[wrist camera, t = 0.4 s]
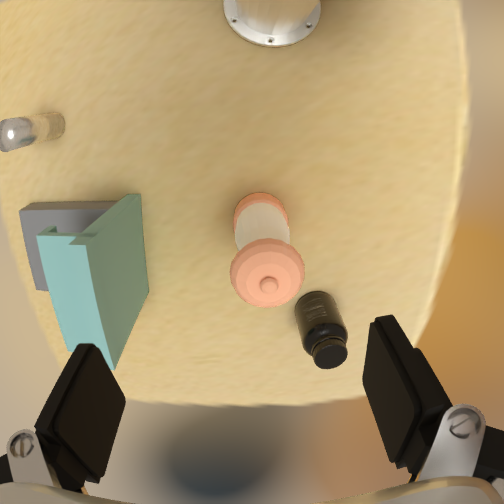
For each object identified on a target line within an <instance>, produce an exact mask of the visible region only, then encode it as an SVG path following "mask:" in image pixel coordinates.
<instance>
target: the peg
mask: <svg viewBox="0 0 504 504" xmlns="http://www.w3.org/2000/svg"><path fill="white" fill-rule="evenodd" d="M64 129H65V120H64V117H63V116H62V115H61V114H59V113H48V114H39V115H31V116H24V117H17V118H10V119H5V120H3V121H1V122H0V150H1V151H3V152H8V151H11V150H14V149H18V148H21V147H25V146H28V145H32V144H36V143H40V142H43V141H47V140H51V139H56V138H58V137H60V136H61V135H62V134H63V132H64Z"/></svg>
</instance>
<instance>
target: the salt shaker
mask: <svg viewBox="0 0 504 504" xmlns="http://www.w3.org/2000/svg"><path fill="white" fill-rule="evenodd" d="M233 228H234V233H235V242H236V245H237V248H238V251H239V252H238V253H237V254H236V256H235V257H234V259H233V261H232V263H231V268H230V278H231V283H232V285H233V287H234V289H235V291H236V292H237V294H238V295H239V296H240V297H241V298H242V299H243V300H244V301H245V302H248V303H250V304H252V305H254V306H258V307H264V308H268V307H276V306H279V305H282V304H284V303H286V302H288V301H289V300H290V299H292V298H293V297H294V296H295V295H296V294H297V292H298V291H299V290H300V288H301V286H302V283H303V280H304V275H305V272H304V263H303V260H302V258H301V255H300V254H299V253H298V252H297V251H296V250H295V249H294V247H292V246H291V245H289V243H290V231H289V226H288V217H287V215H286V212H285V210H284V207H283V205H282V203H281V202H280V201H279V200H278V199H277V198H275V197H274V196H272V195H270V194H266V193H253V194H251V195H248V196H246V197H245V198H243V199H242V200H241V201H240V202H239V204H238V205H237V207H236V209H235V213H234V220H233Z"/></svg>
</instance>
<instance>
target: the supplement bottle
mask: <svg viewBox="0 0 504 504" xmlns="http://www.w3.org/2000/svg"><path fill="white" fill-rule="evenodd" d="M295 316H296V320H297V324H298V329H299V333H300V337H301V341H302V345H303V348H304V350H305V351H306V352H307V353H308V354H309V355H310V356H312V357H313V360H314V362H315V364H316V366H318V367H319V368H321V369H331V368H335V367H337V366H339V365H341V364H342V363H343V362H344V361H345V360H346V358H347V355H348V354H347V353H348V351H347V348H346V343H347V339H348V332H347V329H346V327H345V324H344V322H343V320H342V318H341V315H340V313H339V311H338V308H337V306H336V304H335V302H334V300H333V298H332V297H331V296H330V295H328V294H326V293H323V292H313V293H309V294H307V295H305V296H304V297H302V298H301V299H300V300H299V302H298V303H297V305H296V308H295Z"/></svg>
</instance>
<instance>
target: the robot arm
mask: <svg viewBox="0 0 504 504" xmlns="http://www.w3.org/2000/svg"><path fill="white" fill-rule="evenodd" d="M223 6H224V14H225V17H226V19H227V22H228V23H229V25H230V26H231V28H232V29H233V30H234V31H235V32H236V33H237V34H238V35H239V36H241V37H242V38H244V39H245V40H247V41H249V42H251V43H253V44H257V45H260V46H265V47H284V46H288V45H292V44H294V43H297V42H299V41H301V40H302V39H304V38H306V37H307V36H308V35H309V34H310V33H311V32H312V31H313V30H314V28H315V27H316V25H317V23H318V21H319V18H320V14H321V4H320V0H224V1H223ZM233 20H236V22H235V23H233V22H232V21H233ZM306 26H309V27H310V28H307V27H306ZM269 40H272V43H269ZM362 379H363V386H364V389H365V392H366V395H367V397H368V400H369V403H370V406H371V409H372V411H373V414H374V417H375V420H376V423H377V426H378V429H379V431H380V434H381V437H382V440H383V443H384V446H385V449H386V452H387V455H388V458H389V461H390V462H391V463H393V462H395V464H396V467H397V469H400V468H403V467H406V466H407V469H408V472H409V473H411V475H410V477H409V479H408V481H407V483H406V484H403V485H399V486H395V487H391V488H387V489H383V490H379V491H375V492H370V493H366V494H361V495H357V496H352V497H347V498H341V499H336V500H330V501H325V502H318V503H312V504H504V431H502V430H499V429H496V428H493V427H489V426H486V421H485V418H484V415H483V414H482V413H481V411H480V410H479V409H477V408H476V407H474V406H471V405H468V404H458V405H455V406H453V405H452V403H451V402H450V400H449V398H448V396H447V394H446V393H445V391H444V389H443V387H442V385H441V384H440V382H439V380H438V379H437V377H436V375H435V373H434V372H433V370H432V368H431V366H430V365H429V363H428V361H427V360H426V358H425V356H424V355H423V353H422V352H421V350H420V349H418V348H413V347H412V345H411V343H410V341H409V340H408V338H407V337H406V335H405V333H404V332H403V330H402V328H401V327H400V325H399V323H398V322H397V320H396V319H395V317H394V316H393V315H386V316H381V317H376V318H375V321H374V322H372V323H370V328H369V336H368V344H367V351H366V358H365V365H364V371H363V378H362ZM125 403H126V401H125V396H124V394H123V392H122V391H121V389H120V387H119V385H118V383H117V381H116V380H115V378H114V376H113V374H112V372H111V370H110V368H109V366H108V364H107V362H106V360H105V358H104V356H103V354H102V352H101V350H100V348H98V347H96V345H95V344H93V343H79V344H78V345H77V346H76V348H75V350H74V351H73V353H72V355H71V357H70V358H69V360H68V362H67V364H66V366H65V367H64V369H63V371H62V373H61V375H60V377H59V379H58V380H57V382H56V384H55V386H54V388H53V390H52V392H51V394H50V396H49V397H48V399H47V401H46V404H45V405H44V407H43V409H42V411H41V413H40V415H39V418H38V419H37V422H36V424H35V426H34V427H35V428H36V432H35V433H34V432H33V431H31V430H28V429H24V430H20V431H18V432H16V433H15V434H13V435H12V436H11V437H10V439H9V441H8V443H7V454H5V455H3V456H1V457H0V504H133V503H127V502H121V501H115V500H110V499H105V498H99V497H95V496H90V495H88V492H87V490H86V488H85V486H84V483H85V480H86V481H88V482H93V483H97V484H98V483H99V482H100V478H101V477H103V476H104V474H105V471H106V468H107V464H108V461H109V457H110V454H111V450H112V446H113V443H114V440H115V437H116V433H117V429H118V427H119V423H120V420H121V417H122V413H123V411H124V407H125Z"/></svg>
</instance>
